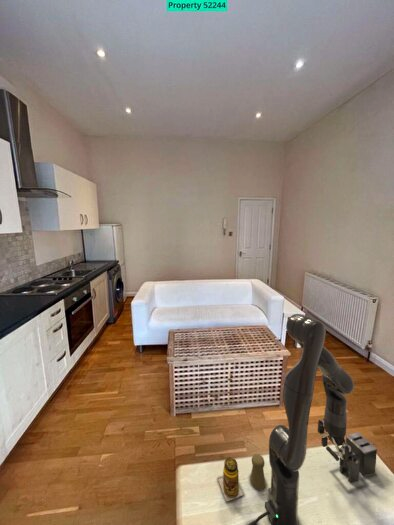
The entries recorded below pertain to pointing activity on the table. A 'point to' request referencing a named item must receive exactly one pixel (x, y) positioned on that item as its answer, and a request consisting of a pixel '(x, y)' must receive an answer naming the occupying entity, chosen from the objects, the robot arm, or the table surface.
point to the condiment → (230, 480)
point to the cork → (257, 472)
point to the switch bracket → (352, 469)
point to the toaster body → (363, 452)
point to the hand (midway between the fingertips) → (333, 455)
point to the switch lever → (334, 453)
